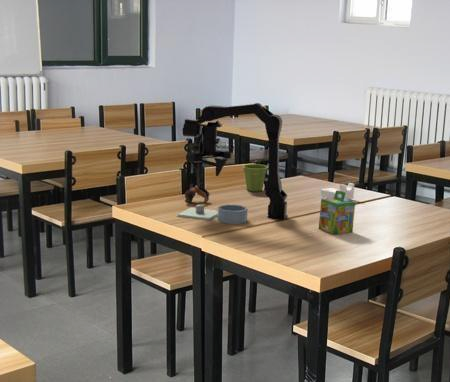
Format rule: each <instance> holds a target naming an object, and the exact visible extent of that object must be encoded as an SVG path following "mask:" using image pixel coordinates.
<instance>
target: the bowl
mask: <svg viewBox="0 0 450 382" xmlns="http://www.w3.org/2000/svg"><path fill="white" fill-rule="evenodd" d="M248 209H249V208H247V207H246V206H243V205H240V204H239V205H238V204H221V205H219V206H217V210H216V211H217V217H216V218H217V219H216V220H217V221H218V222H220V223H223V224H229V225H231V224H232V225H233V224H235V225H236V224H237V225H239V224H244V223H246V222H247V221H248Z"/></svg>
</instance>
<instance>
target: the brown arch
mask: <svg viewBox="0 0 450 382" xmlns="http://www.w3.org/2000/svg"><path fill="white" fill-rule="evenodd" d="M196 194H197V195H198V196H200V197H202V198H204V200H203V203H202V204H203V205H204V204H207V203H208V201H209V199H210V198H209V197H210V195H211V193H210V192H209V191H208V190H207V189H206V188H204V187H202V186H200V185H197V184H196V185H195V186H194V187H191V188H190V189H188V190H186V192H185V193H184V197H185V198H184V199H185V200H184V202H185V203H192V202H193V199H194V197H195V196H196Z"/></svg>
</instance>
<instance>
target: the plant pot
mask: <svg viewBox="0 0 450 382" xmlns="http://www.w3.org/2000/svg"><path fill="white" fill-rule="evenodd" d="M242 168H243V171H244V176H245V185H246V190H247V191H249V192H254V191H256V192H262V191H263V190H264V189H263V188H264V180H265V179H266V175H267V171H268V169H269V165H265V164H257V163H255V164H253V163H251V164H250V163H249V164H244V165H242ZM261 190H262V191H261Z"/></svg>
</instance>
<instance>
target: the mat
mask: <svg viewBox="0 0 450 382" xmlns="http://www.w3.org/2000/svg"><path fill="white" fill-rule="evenodd" d="M175 217H177V218H180V217H179V216H178V215H176V216H175ZM183 218H185V219H189V218H188V217H183ZM216 218H217V216H216V217H214V218H212V219H211V220H207V222H209V221H212V220H214V219H216ZM191 219H192V220H193V219H194V220H197V219H196V218H191ZM199 220H201V221H205V220H204V219H199Z"/></svg>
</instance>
